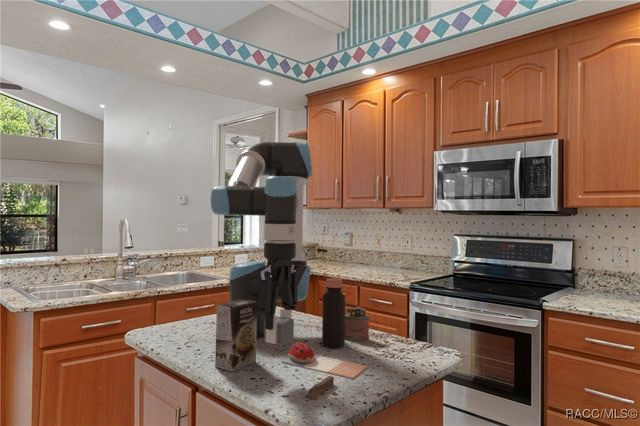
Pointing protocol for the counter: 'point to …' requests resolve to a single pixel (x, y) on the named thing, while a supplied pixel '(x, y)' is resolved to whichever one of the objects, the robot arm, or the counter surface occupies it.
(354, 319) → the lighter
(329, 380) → the brown bar
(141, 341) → the counter surface
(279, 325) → the die
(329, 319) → the bottle
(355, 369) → the track
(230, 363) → the coffee box
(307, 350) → the ladybug figurine
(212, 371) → the counter surface
